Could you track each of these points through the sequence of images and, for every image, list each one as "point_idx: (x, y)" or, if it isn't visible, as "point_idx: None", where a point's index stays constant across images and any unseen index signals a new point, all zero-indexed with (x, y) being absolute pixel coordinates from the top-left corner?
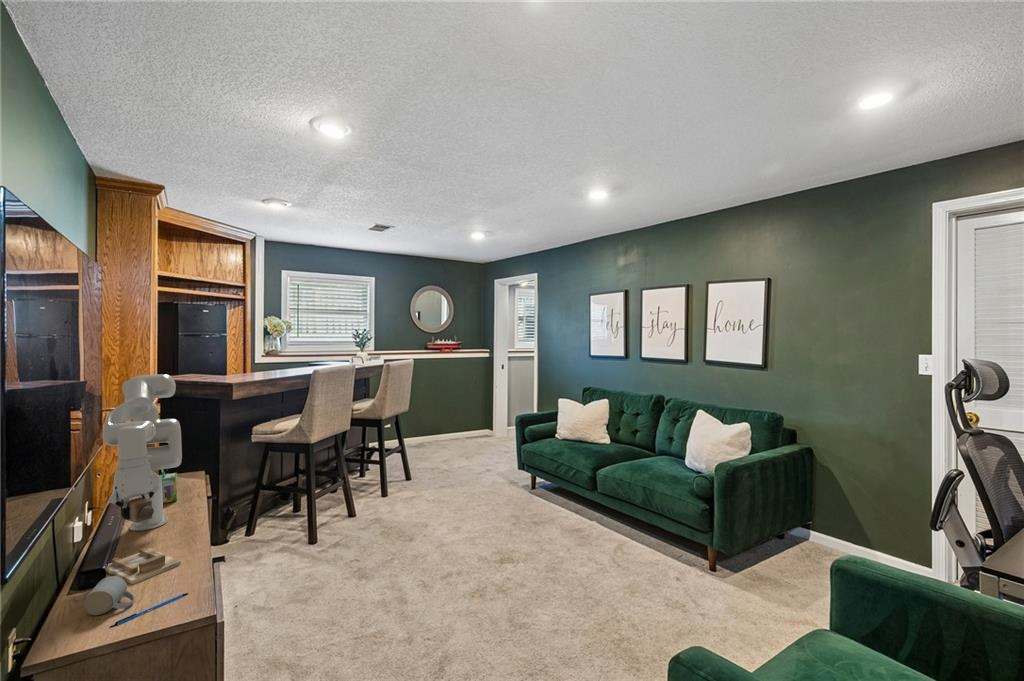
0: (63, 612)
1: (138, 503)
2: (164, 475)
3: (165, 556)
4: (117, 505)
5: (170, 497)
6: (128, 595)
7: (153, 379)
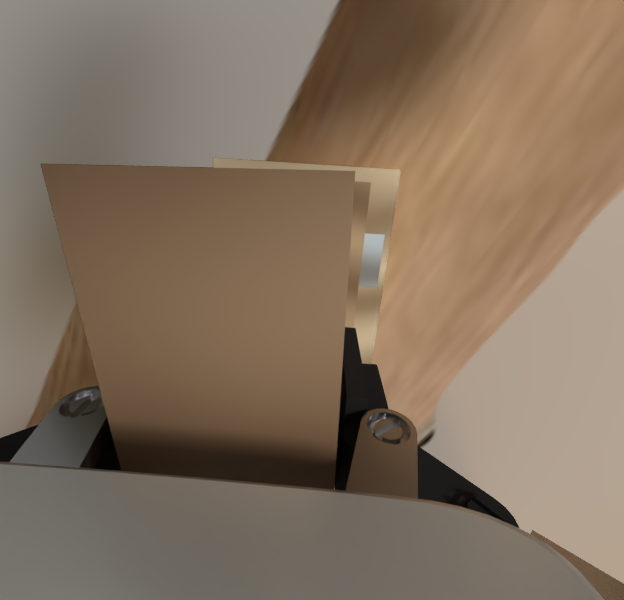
0: (67, 360)
1: None
2: None
3: (371, 313)
4: (18, 445)
5: None
6: None
7: None
